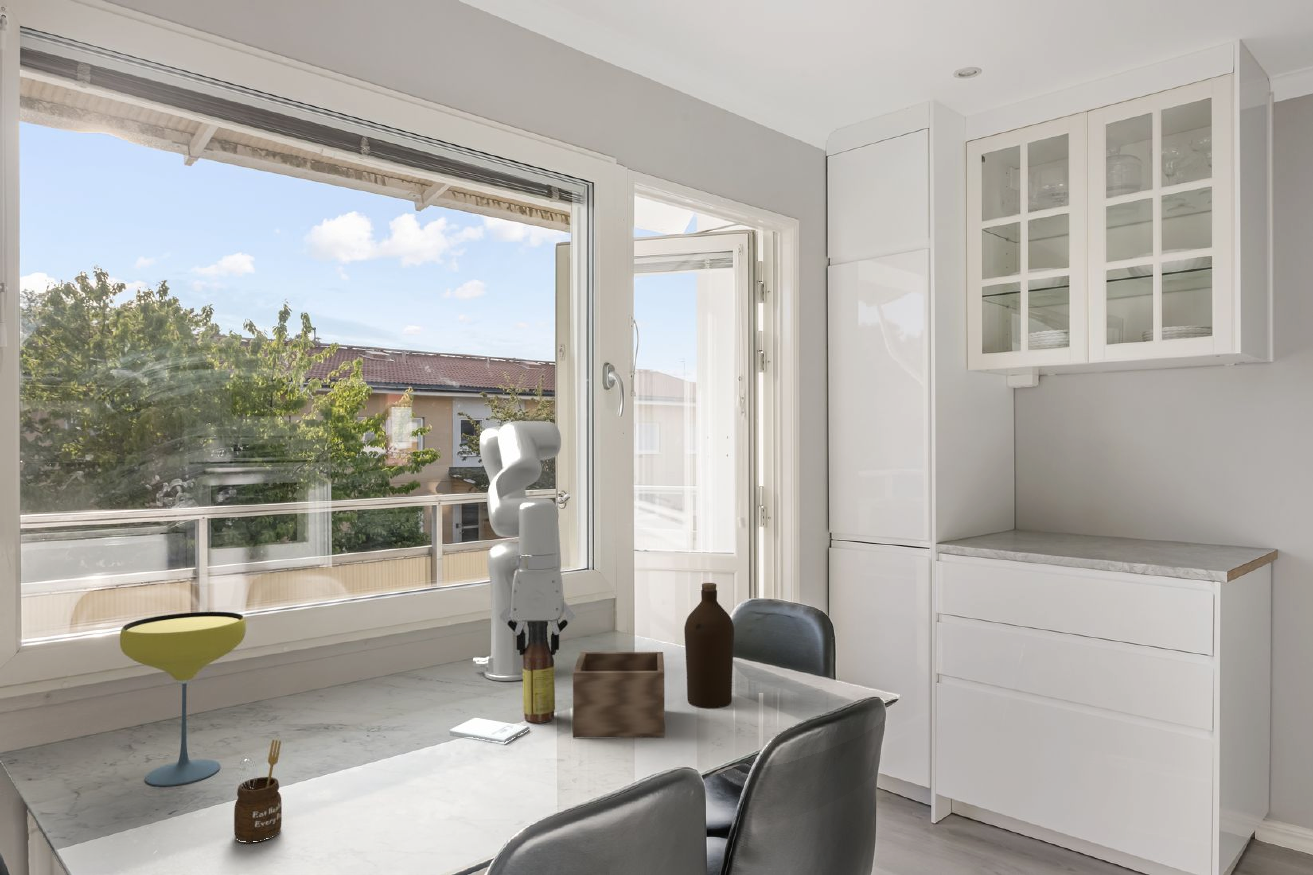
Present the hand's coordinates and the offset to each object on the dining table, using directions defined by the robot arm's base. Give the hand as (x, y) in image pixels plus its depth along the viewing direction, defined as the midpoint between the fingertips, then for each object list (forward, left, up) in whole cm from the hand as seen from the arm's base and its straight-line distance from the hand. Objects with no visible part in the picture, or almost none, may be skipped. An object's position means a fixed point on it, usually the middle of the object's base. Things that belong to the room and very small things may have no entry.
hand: (538, 652), depth 163 cm
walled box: (+16, -3, -13) cm, 21 cm away
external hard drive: (-8, -8, -14) cm, 18 cm away
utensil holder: (-32, -49, -13) cm, 60 cm away
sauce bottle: (0, 0, -13) cm, 13 cm away
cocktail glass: (-55, -27, -13) cm, 63 cm away
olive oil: (+35, +11, -13) cm, 39 cm away
